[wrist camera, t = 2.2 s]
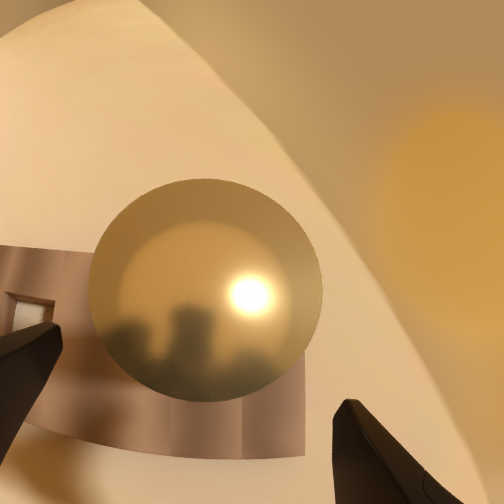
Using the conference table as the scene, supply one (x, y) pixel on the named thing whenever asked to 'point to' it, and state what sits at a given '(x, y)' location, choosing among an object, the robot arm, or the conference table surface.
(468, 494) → the conference table surface
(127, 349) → the brass peg
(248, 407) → the block
